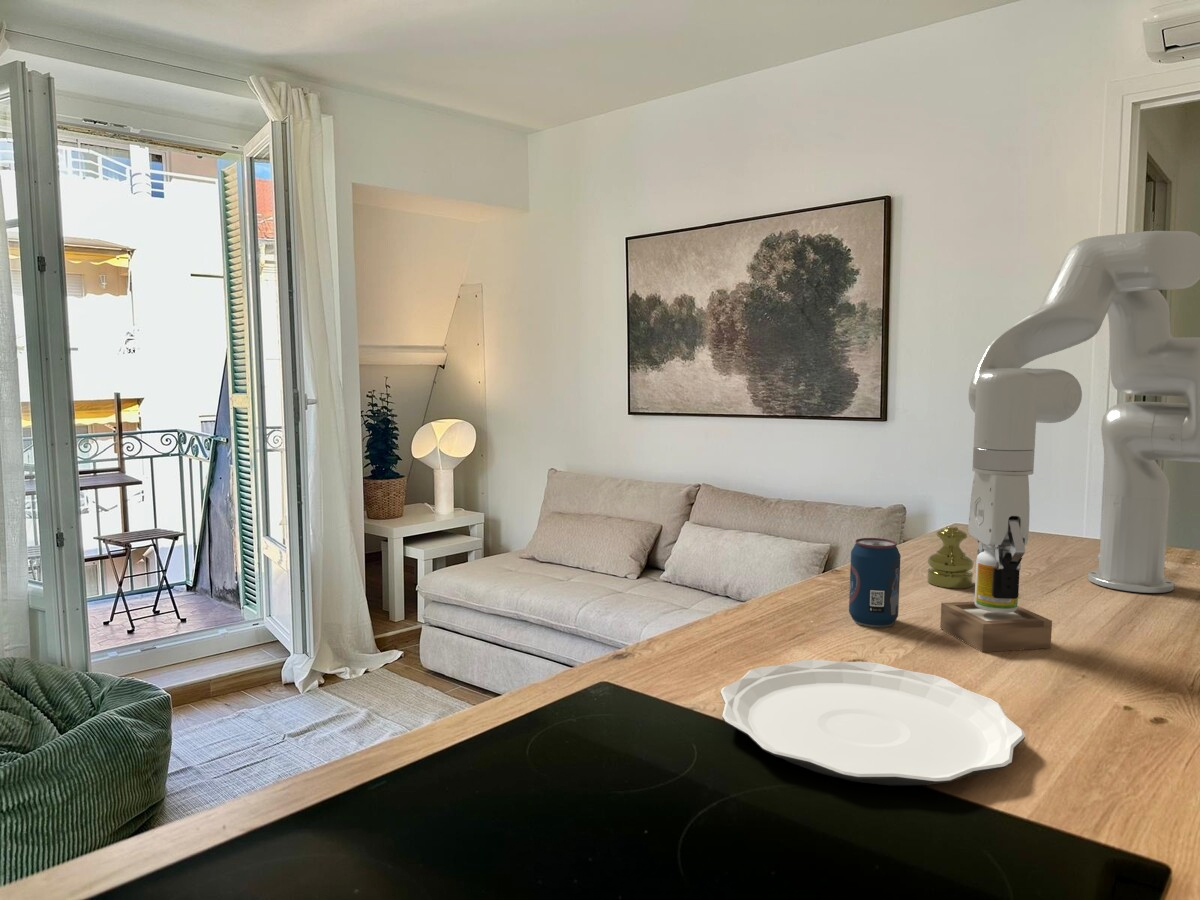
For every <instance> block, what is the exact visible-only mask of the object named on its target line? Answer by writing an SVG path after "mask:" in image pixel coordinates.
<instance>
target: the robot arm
mask: <svg viewBox="0 0 1200 900" xmlns="http://www.w3.org/2000/svg"><path fill="white" fill-rule="evenodd" d="M1199 280H1200V235H1199V234H1197V233H1196V232H1193V231H1191V230H1190V231H1189V230H1188V231H1187V230H1186V231H1185V230H1183V231H1181V230H1145V231H1143V230H1142V231H1136V232H1126V233H1118V234H1117V233H1116V234H1108V235H1100V236H1099V235H1098V236H1093V237H1089V238H1085V239H1082V240H1080V241H1078V242H1076V243H1075V244H1074V245H1072V246H1071V247H1070V248H1069V250H1068V251H1067V253H1066V254H1065V256H1064V258H1063V260H1062V262H1061V264H1060V266H1059V268H1058V270H1057V272H1056V274H1055V276H1054V278H1053V280H1052V282H1051V284H1050V287H1049V289H1048V291H1047V293H1046V295H1045V296H1044V298H1043V301H1042V303H1041V305H1040V307H1039V308H1038V309H1037V310H1035V311H1033V312H1032V313H1030V314H1029V315H1027V316H1025V317H1023V318H1022V319H1021V320H1019V321H1017V322H1015V324H1013V325H1012V326H1011V327H1010V328H1007V329H1006V330H1005V331H1004V332H1002V333H1001V334H1000V335H998V336H997V337H996V338H995V339H993V341H992V342H991V343H990V344H989V345H988V346H987V347H986V350H985V351H984V353H983V354H982V357H981V358H980V361H979V363H978V365H977V366H976V369H975V370H974V373H973V376H972V378H971V380H970V384H969V388H968V403H969V407H970V409H971V410H972V412H973V413H974V426H973V427H974V429H973V449H972V450H973V451H972V472H974V476H973V481H972V487H971V493H970V505H969V514H968V515H969V516H968V526H967V528H968V529H967V530H968V531H967V532H968V534H969V535H970V536H971V537H972V538H973V539H975V540H976V541H977V543H978V545H977V549H976V551H977V552H976V555H977V556H978V554H979V553H981V552H984V548H983V546H982V544H984V545H986V546H988V547H990V548H993V547H995V555H996V567H997V568H993V585H992V596H993V597H994V598H1003V599H1016V598H1018V599H1019V591H1020V590H1019V589H1020V570H1021V568H1022V564H1021V563H1022V562H1021V561H1023V557H1024V555H1025V553H1026V546H1027V544H1028V540H1029V532H1030V508H1031V507H1030V482H1029V480H1030V478H1029V476H1030V475H1034V470H1035V469H1034V467H1035V464H1034V463H1035V449H1036V434H1037V433H1036V431H1037V430H1036V429H1037V423H1042V424H1056V423H1057V424H1058V423H1061V422H1063V421H1064V422H1065V421H1066V420H1068V419H1070V418H1072V417H1073V416H1074V415H1075V414H1076V412H1077V411H1078V410H1079V408H1080V405H1081V403H1082V398H1083V397H1082V396H1083V392H1082V387H1081V384H1080V382H1079V381H1078V379H1077V377H1075V375H1073V374H1072V373H1070V372H1069V371H1066V370H1063V369H1057V368H1032V367H1031V368H1029V367H1025V368H1024V366H1026V365H1027V364H1029V363H1031V362H1033V361H1035V360H1037V359H1040V358H1043V357H1046V356H1049V355H1050V354H1051V355H1052V354H1055V353H1058V352H1062V351H1064V350H1067V349H1070V348H1072V347H1074V346H1077V345H1080V344H1083V343H1085V342H1087V341H1089V340H1091V339H1092V338H1094V337H1095V336H1096V335H1097V334H1098V332H1100V329H1101V327H1102V325H1103V322H1104V320H1105V318H1106V315H1107V319H1108V329H1109V330H1108V331H1109V332H1108V334H1109V335H1108V336H1109V370H1110V371H1109V372H1110V380H1111V383H1112V386H1113V387H1114V389H1115V390H1116V391H1117V392H1119V393H1122V394H1126V395H1132V396H1133V395H1134V396H1153V397H1182V398H1184V399H1185V401H1186V403H1185V402H1183V403H1182V402H1181V403H1180V402H1178V403H1177V402H1163V401H1162V402H1161V401H1160V402H1159V401H1127V402H1122V403H1117V404H1115V405H1113V406H1111V407H1110V408H1108V409H1107V410H1106V411H1105V413H1104V415H1103V416H1102V420H1101V425H1100V427H1101V428H1100V430H1101V439H1102V445H1103V447H1102V448H1103V455H1104V483H1103V497H1102V500H1103V501H1102V515H1101V529H1100V530H1101V531H1100V545H1099V554H1098V555H1097V556H1096V559H1097V560H1098V562H1099V563H1098V569H1094V570H1090V571H1089V572H1088V575H1087V579H1088V581H1090V582H1092V583H1093V584H1095V585H1098V586H1102V587H1105V588H1109V589H1113V590H1118V591H1125V592H1131V593H1132V592H1133V593H1140V594H1141V593H1142V594H1143V593H1144V594H1146V593H1147V594H1162V593H1169V592H1172V591H1173V590H1174V587H1175V583H1174V581H1173V580H1171V579H1170V578H1167V577H1165V576H1164V575H1165V561H1166V549H1167V535H1168V534H1167V533H1168V520H1169V505H1170V494H1171V490H1170V483H1169V479H1168V478H1167V475H1166V474H1165V473H1164V471H1163V470H1162V468H1161V467H1160V466H1159V464H1158V463H1157V461H1161V460H1162V461H1177V462H1187V463H1188V462H1189V463H1200V336H1199V337H1198V336H1197V337H1196V336H1195V337H1194V336H1193V337H1191V336H1189V337H1174V336H1173V335H1172V333H1171V323H1170V322H1171V321H1170V319H1171V317H1170V315H1171V313H1170V312H1171V311H1170V306H1169V304H1168V301H1167V299H1166V298H1165V297H1164V295H1163V294H1162V292H1160V291H1162V290H1163V291H1164V290H1167V291H1168V290H1179V289H1180V290H1181V289H1187V288H1191V287H1192V286H1194V285H1196V283H1198V282H1199ZM1156 460H1157V461H1156ZM1002 542H1010V545H1011V546H1001V543H1002ZM1002 551H1010V552H1009V553H1006V554H1005V556H1004V557H1003V552H1002Z"/></svg>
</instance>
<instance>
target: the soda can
mask: <svg viewBox="0 0 1200 900" xmlns="http://www.w3.org/2000/svg"><path fill="white" fill-rule="evenodd" d="M901 558H902V557H901V553H900V551H899V549H898V546H897V542H896V541H894V540H890V539H886V538H880V537H877V538H876V537H863V538H861V537H860V538H858V539H857V538H856V539H855V544H854V546H853V547H852V549H851V551H850V566H849V567H850V570H849V572H850V574H849V597H848V599H849V601H848V613H849V615H850V617H851V618H852V620H853V622H854V623H856V624H858V625H860V626H863V625H864V627H868V626H871V627H870V628H888V626H889V627H891V626H893V625H894V623H895V622H896V620H897V619H898V618H899V610H900V609H899V606H900V605H899V604H900V581H901V579H900V578H901ZM892 624H893V625H892Z"/></svg>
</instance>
